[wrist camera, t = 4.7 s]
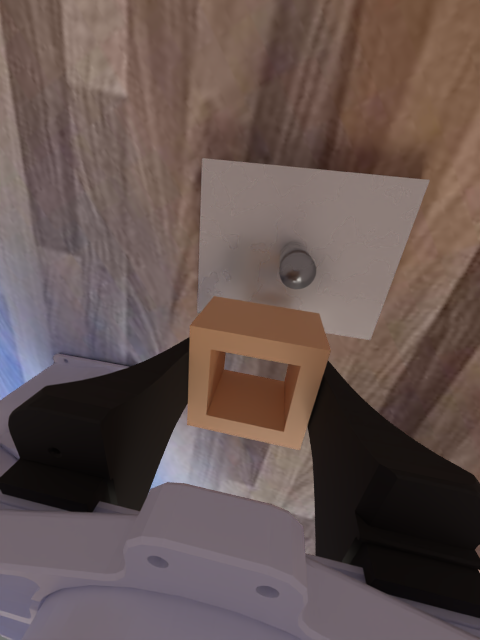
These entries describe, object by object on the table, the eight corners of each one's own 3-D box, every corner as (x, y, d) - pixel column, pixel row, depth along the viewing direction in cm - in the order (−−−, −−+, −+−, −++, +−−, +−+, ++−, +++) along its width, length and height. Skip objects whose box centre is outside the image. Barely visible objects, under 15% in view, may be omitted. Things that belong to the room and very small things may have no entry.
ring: (208, 378, 15) (187, 424, 12) (214, 296, 13) (190, 325, 10) (296, 396, 15) (299, 450, 11) (319, 313, 12) (330, 350, 9)
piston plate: (200, 308, 22) (176, 337, 17) (206, 160, 17) (175, 141, 12) (366, 334, 20) (393, 374, 15) (421, 181, 16) (485, 169, 11)
